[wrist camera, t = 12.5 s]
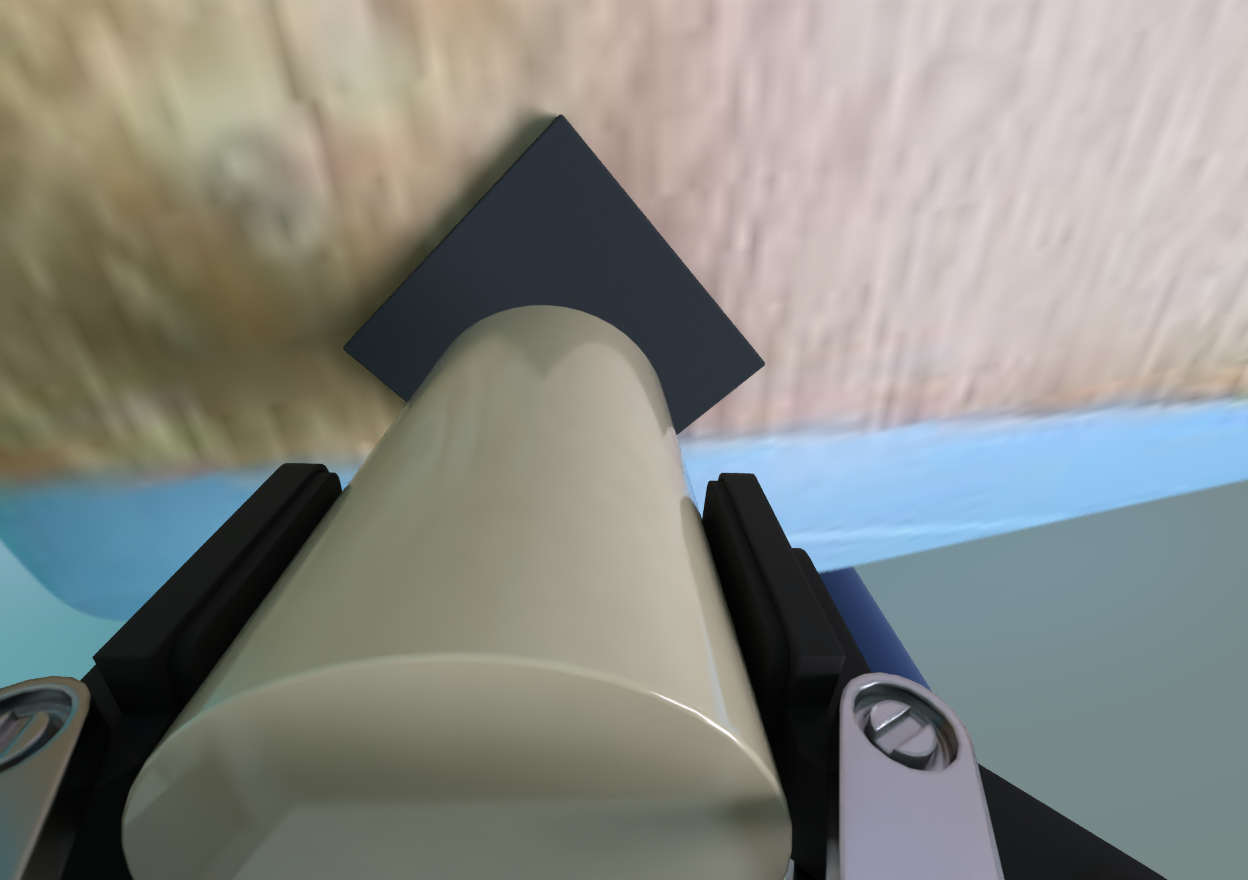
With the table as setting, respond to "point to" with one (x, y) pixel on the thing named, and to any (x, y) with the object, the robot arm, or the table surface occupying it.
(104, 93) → the table surface
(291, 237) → the table surface
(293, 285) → the table surface
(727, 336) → the rubber mat
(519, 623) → the cream cylinder canister
